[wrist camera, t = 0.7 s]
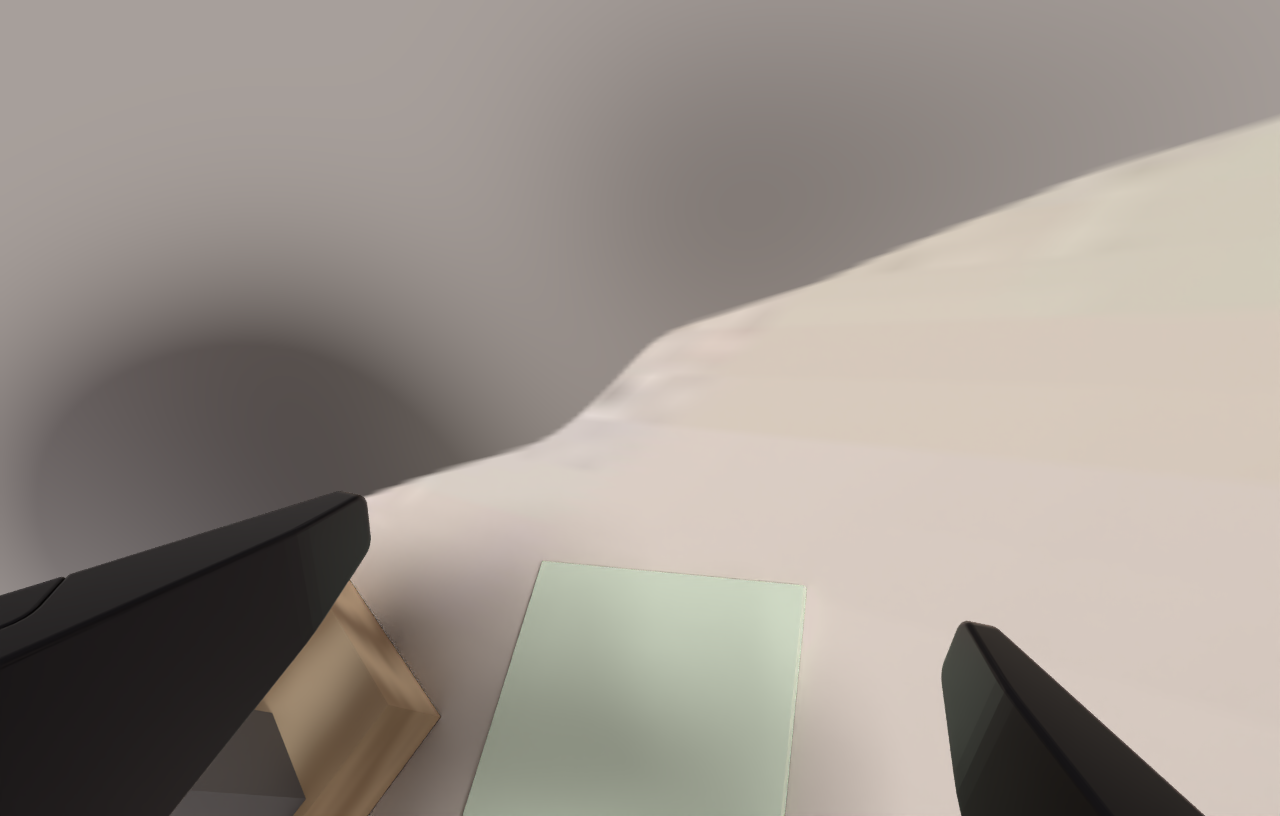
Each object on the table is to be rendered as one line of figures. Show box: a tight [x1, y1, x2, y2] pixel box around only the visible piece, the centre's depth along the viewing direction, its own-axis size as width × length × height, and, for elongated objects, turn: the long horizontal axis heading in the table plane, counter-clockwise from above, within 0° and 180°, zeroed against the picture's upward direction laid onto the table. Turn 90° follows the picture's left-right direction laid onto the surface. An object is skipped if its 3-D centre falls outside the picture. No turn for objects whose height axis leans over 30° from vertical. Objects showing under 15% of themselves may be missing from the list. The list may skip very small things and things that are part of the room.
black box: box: [170, 710, 306, 816], centre depth 21 cm, size 5×5×9 cm
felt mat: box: [463, 561, 807, 816], centre depth 22 cm, size 12×12×1 cm
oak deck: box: [254, 580, 440, 816], centre depth 28 cm, size 14×14×3 cm
